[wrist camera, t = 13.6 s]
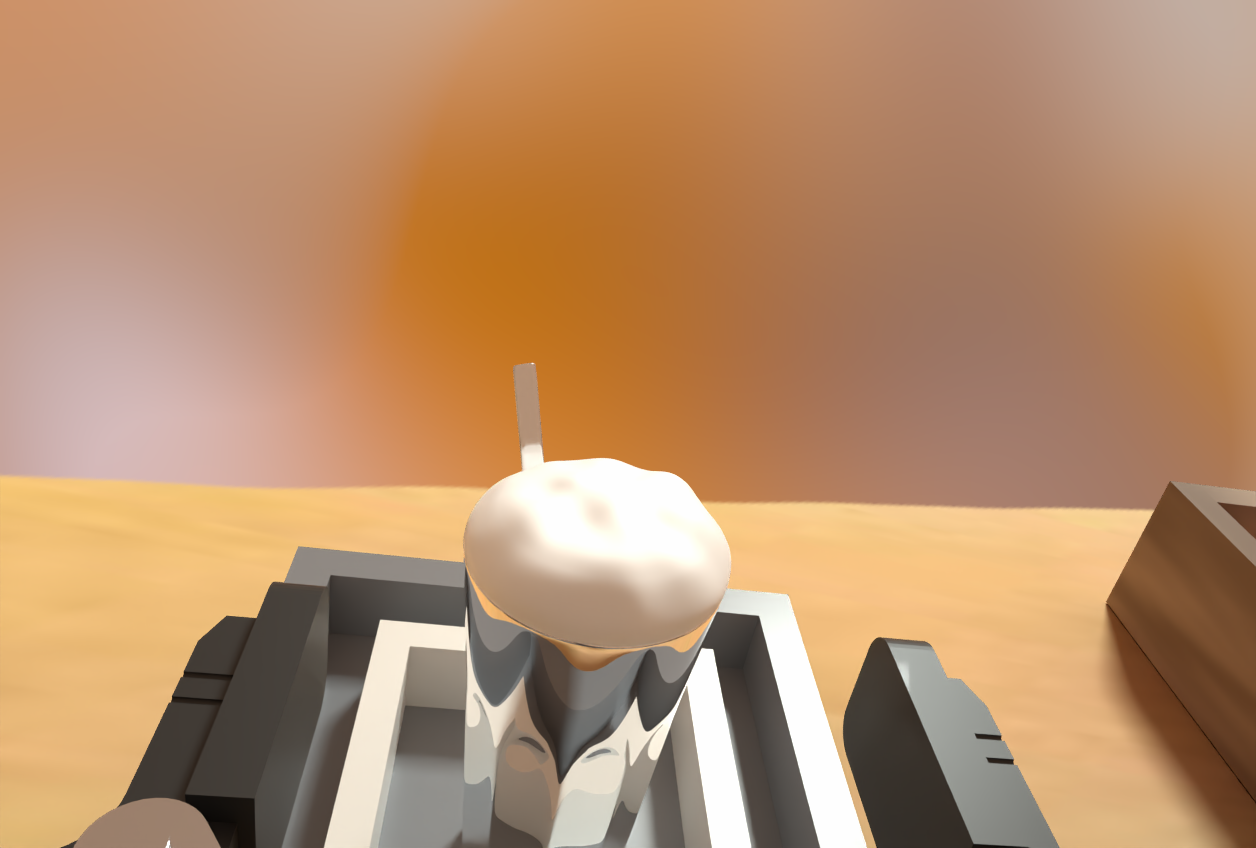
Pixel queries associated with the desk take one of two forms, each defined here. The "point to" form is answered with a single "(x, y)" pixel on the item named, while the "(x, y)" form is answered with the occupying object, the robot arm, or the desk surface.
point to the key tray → (1200, 611)
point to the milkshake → (577, 640)
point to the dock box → (435, 723)
